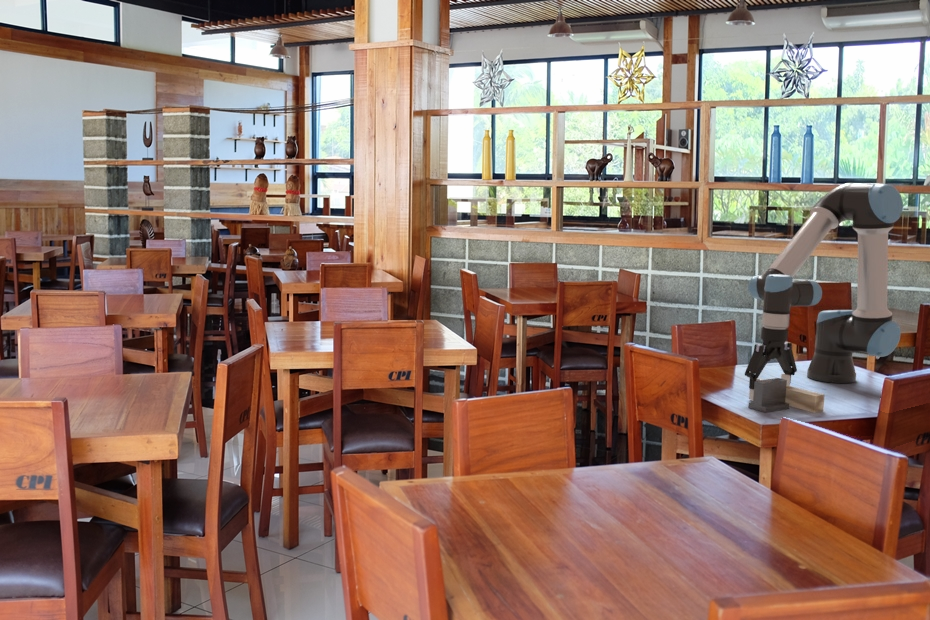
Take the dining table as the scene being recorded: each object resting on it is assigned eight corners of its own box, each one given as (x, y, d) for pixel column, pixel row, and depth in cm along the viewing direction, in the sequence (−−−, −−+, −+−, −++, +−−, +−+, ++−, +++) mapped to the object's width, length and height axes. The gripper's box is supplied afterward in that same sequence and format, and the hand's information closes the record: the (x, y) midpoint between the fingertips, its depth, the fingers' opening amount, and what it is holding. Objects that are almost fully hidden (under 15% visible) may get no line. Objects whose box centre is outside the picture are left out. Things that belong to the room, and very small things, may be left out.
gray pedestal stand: (771, 404, 263) (774, 376, 262) (789, 408, 258) (791, 381, 257) (748, 407, 257) (750, 380, 256) (765, 412, 252) (767, 384, 251)
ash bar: (760, 395, 275) (761, 379, 274) (823, 411, 256) (824, 394, 256) (751, 396, 273) (752, 380, 272) (814, 413, 254) (815, 396, 254)
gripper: (792, 323, 276) (786, 391, 279) (735, 327, 263) (730, 399, 266) (813, 327, 270) (806, 396, 273) (756, 331, 257) (750, 404, 260)
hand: (768, 398), depth 269 cm, fingers open, 13 cm apart
